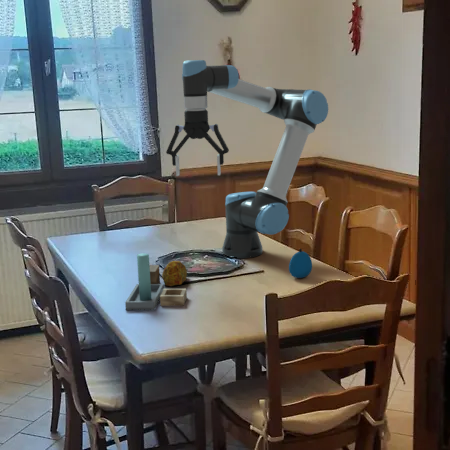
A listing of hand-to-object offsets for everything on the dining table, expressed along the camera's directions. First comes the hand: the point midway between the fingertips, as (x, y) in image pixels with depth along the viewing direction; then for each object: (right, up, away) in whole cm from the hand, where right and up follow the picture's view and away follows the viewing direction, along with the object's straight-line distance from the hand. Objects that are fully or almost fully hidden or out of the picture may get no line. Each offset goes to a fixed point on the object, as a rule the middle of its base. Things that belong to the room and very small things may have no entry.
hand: (198, 175), depth 227 cm
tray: (-16, -40, -14) cm, 45 cm away
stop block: (-15, -36, 0) cm, 39 cm away
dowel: (-16, -39, -14) cm, 44 cm away
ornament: (+34, -34, +4) cm, 48 cm away
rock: (-8, -36, +3) cm, 37 cm away
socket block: (-7, -40, -15) cm, 43 cm away
